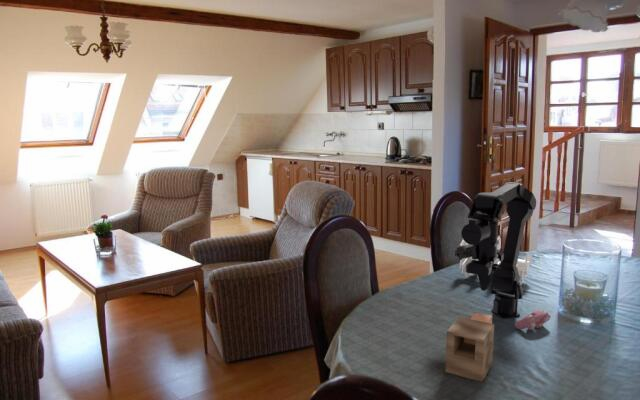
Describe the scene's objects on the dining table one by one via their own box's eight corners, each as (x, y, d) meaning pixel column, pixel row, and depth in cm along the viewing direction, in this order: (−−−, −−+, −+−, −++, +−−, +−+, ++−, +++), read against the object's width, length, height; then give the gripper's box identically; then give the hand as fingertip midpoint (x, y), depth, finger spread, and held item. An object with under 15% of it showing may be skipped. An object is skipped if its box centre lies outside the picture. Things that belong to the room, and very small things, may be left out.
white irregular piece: (521, 300, 180) (455, 284, 194) (534, 269, 191) (471, 255, 205) (520, 263, 170) (450, 248, 185) (534, 232, 181) (467, 220, 196)
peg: (474, 327, 136) (475, 312, 135) (491, 331, 134) (492, 315, 133) (463, 342, 128) (464, 326, 127) (481, 346, 125) (482, 330, 124)
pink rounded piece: (523, 337, 145) (533, 321, 142) (512, 325, 149) (522, 309, 145) (545, 330, 150) (556, 314, 146) (534, 319, 153) (544, 303, 149)
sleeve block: (457, 355, 132) (459, 316, 130) (492, 364, 127) (494, 324, 125) (445, 371, 124) (446, 331, 122) (481, 381, 119) (483, 339, 117)
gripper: (468, 227, 153) (466, 275, 156) (448, 241, 138) (446, 294, 141) (505, 231, 147) (502, 282, 150) (489, 246, 132) (486, 302, 135)
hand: (484, 289), depth 144 cm, fingers closed
